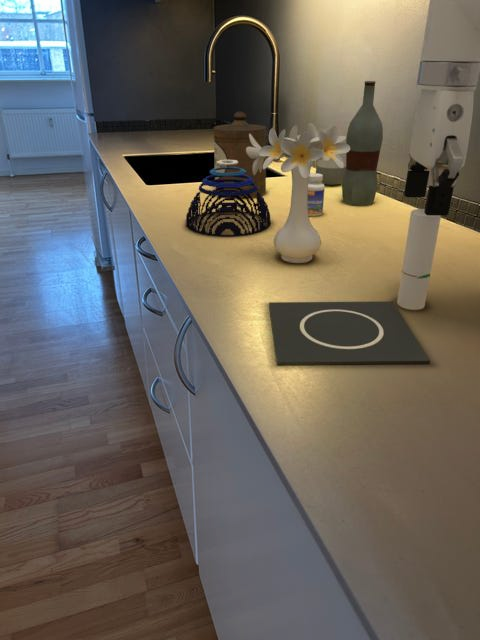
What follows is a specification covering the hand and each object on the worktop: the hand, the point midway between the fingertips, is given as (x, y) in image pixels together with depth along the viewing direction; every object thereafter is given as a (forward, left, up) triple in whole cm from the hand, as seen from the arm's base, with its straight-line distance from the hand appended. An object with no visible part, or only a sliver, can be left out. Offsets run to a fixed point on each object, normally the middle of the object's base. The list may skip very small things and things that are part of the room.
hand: (424, 205), depth 75 cm
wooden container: (+27, -76, -16) cm, 82 cm away
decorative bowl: (+30, -45, -16) cm, 56 cm away
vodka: (-5, -64, -16) cm, 66 cm away
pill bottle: (+9, -53, -16) cm, 56 cm away
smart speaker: (-1, -86, -16) cm, 87 cm away
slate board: (+13, +9, -16) cm, 22 cm away
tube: (0, 0, -16) cm, 16 cm away
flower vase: (+17, -21, -16) cm, 31 cm away
